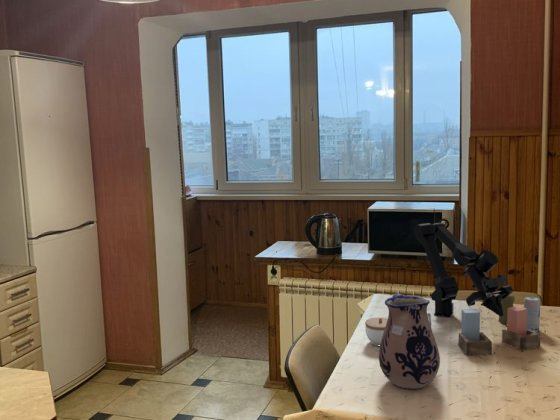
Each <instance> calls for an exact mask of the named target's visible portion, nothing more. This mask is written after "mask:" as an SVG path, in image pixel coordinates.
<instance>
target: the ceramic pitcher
mask: <svg viewBox="0 0 560 420" xmlns="http://www.w3.org/2000/svg"><path fill="white" fill-rule="evenodd" d="M430 303H431V301H430V300H429V299H426V298H424V297H421V296H415V295H413V296H411V295H404V294H402V293H400V292H396V293H394V294H393V295H392V296H391V297H388V298H387V299H385V301H384V305H385V306H386V307H387V308H388V315H387V318H388V320H387V323H386V327H385V330H384V333H383V335H382V340H381V344H380V346H379V350H378V351H379V352H378V361H379V362H378V363H379V367H380V369H381V371H382V373H383V374H384V377H385V378H386V379H387V380H389V382H391V383H392V384H393V385H395V386H396V387H399V388H402V389H410V390H411V389H413V390H415V389H416V390H417V389H422V388H424V387H426V386H428V384H430V383H431V382H432V381H433V380H434V379H435V378H436V376H437V373H438V372H439V369H440V365H441V357H440V351H439V348H438V344H437V341H436V338H435V335H434V332H433V329H432V325H431V326H430V323H429V320H428V316H427V312H428V306H429V304H430Z"/></svg>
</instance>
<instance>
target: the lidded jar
mask: <svg viewBox="0 0 560 420" xmlns="http://www.w3.org/2000/svg"><path fill="white" fill-rule="evenodd" d="M387 320H388V317H372V318H368V319H366V320H365V321H364V325H365V334H366V337H367V339H368V340H369V341H370V343H371V344H372V343H373V344H375V345H374V346H376V345H380V344H381V340H382V335H383V333H384V330H385V327H386V323H387ZM373 344H372V345H373Z"/></svg>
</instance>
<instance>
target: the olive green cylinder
mask: <svg viewBox="0 0 560 420" xmlns="http://www.w3.org/2000/svg"><path fill="white" fill-rule="evenodd" d="M515 298H516V297H515V296H514V295H513V294H512V293H511V294H510V295H508V296H507V297H506V298H504V299H501V304H502V309H503V314H504V316H502V317H500V316H499V315H498V322H499V323H500V324H502V325H507V308H510V307H514V303H515Z"/></svg>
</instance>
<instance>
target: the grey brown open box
mask: <svg viewBox="0 0 560 420" xmlns="http://www.w3.org/2000/svg"><path fill="white" fill-rule="evenodd" d="M457 343H458V347H459V348H460V349H461V351H463V353H464V354H465V355H466V356H467V357H468V356H492V355H493V353H492V352H493V351H492V350H493V342H492V340H491V339H490V338H489V337H488V336H487V335H486V334H485V333H484V332H483V331H482V332H481V331H480V340H478V341H469V340H468V339H467V338H466V337H465V336H464V334H463V333H461V332H458V342H457Z"/></svg>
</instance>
